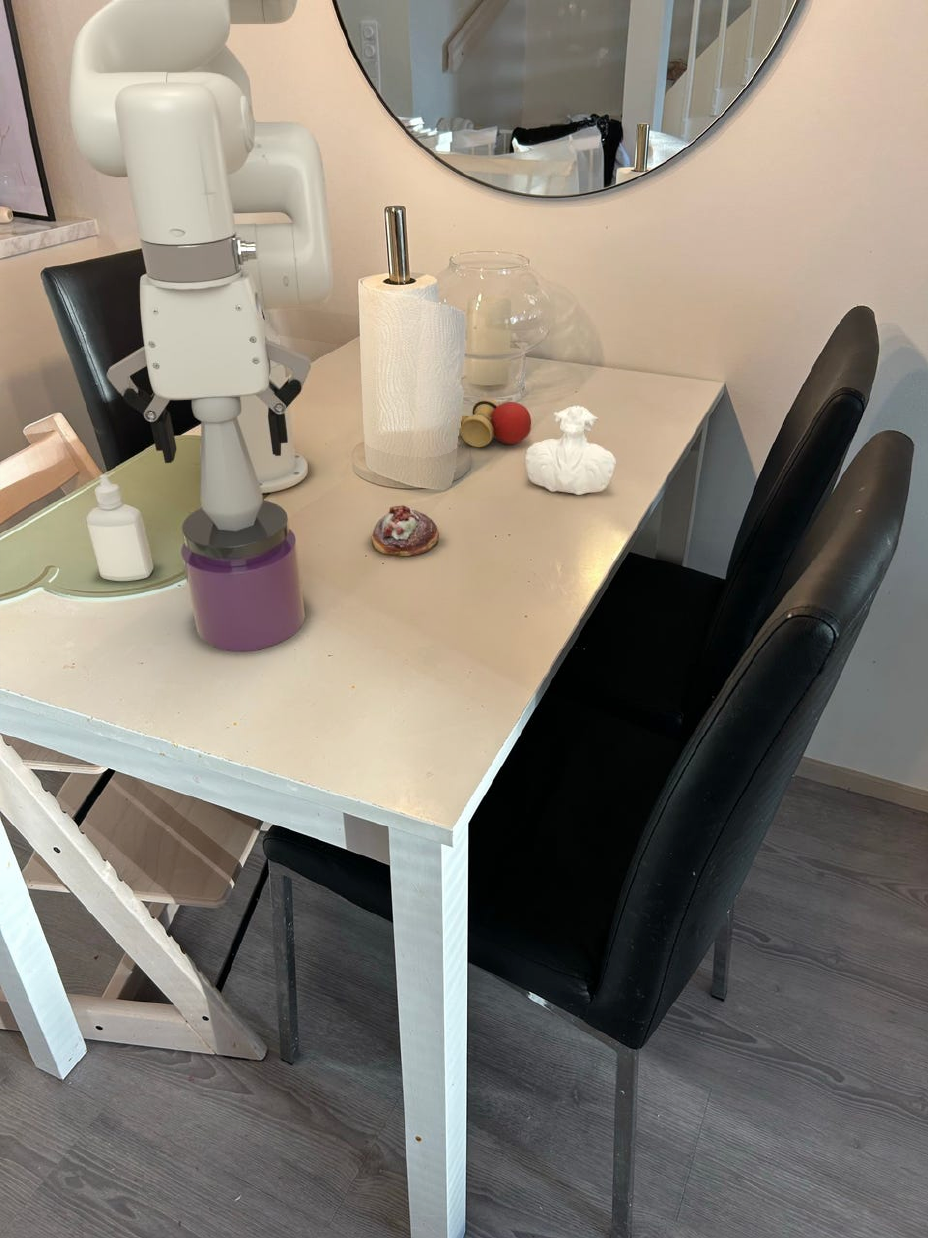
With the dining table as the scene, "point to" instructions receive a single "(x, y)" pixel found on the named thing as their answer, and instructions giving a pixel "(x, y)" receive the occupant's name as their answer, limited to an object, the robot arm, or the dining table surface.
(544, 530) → the dining table surface
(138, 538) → the eye dropper bottle
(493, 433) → the kendama
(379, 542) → the pastry
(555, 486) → the bust
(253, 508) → the salt shaker
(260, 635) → the jar
